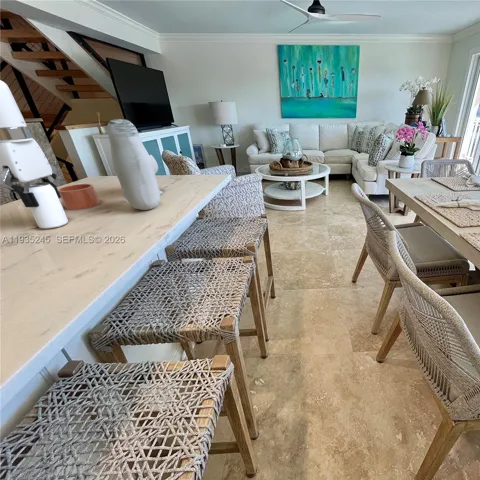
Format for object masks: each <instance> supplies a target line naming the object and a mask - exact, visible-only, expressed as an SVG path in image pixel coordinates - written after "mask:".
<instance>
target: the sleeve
mask: <svg viewBox="0 0 480 480" xmlns="http://www.w3.org/2000/svg"><path fill="white" fill-rule="evenodd" d="M57 189H58V191H59V193H60V196H61V198H60V199H61V200H62V203H63V205H64V207H65V209H66V210H72V211H73V210H84V209H87V208H93V207H95V206H97V205H99V204H100V203H101V201H100V199H99V196H98V194H97V191H96V189H95V187H94V184H91V183H77V184H72V185H66V186H62V187H60V188H57Z"/></svg>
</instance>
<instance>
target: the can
mask: <svg viewBox="0 0 480 480" xmlns="http://www.w3.org/2000/svg"><path fill="white" fill-rule="evenodd" d="M29 192H32V193H33V194H34V196H35V198H36V200H37V202H38V204H39V206H38V207H28V208H29V211H30V213H31V214H32V216H33V218H34V220H35V222H36V224H37V226H38V228H39V229H41V230H50V229H55V228H59V227H63V226H65V225H67V224H68V223H69V220H68V217H67V214H66V212H65V210H64V207H63V205H62V203H61V201H60V198H58V196H57V194H56V191H55V189H54V188H53V187H52V186H51V185H50V183H42V182H34V183H33V182H32V183H29Z"/></svg>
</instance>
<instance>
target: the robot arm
mask: <svg viewBox="0 0 480 480" xmlns="http://www.w3.org/2000/svg"><path fill="white" fill-rule="evenodd" d="M57 173H58V168H57V167H55V166H54V165H51V164H50V162H49V160H48V158H47V156H46V155H45V153H44V151H43V149H42V147H40V145H39V143H38V142H37V141H36V140H35V138H33V135H32V131H31V129H29V127H28V125H27V123H26V120H25V119H24V116H23V114H22V112H21V110H20V108H19V106H18V103H17V101H16V100H15V98H14V95H13V93H12V91H11V89H10V88H9V86H8V84H7V83H6V82H5V81H3V80H1V79H0V186H2V187H4V188H6V189H8V190H9V191H11V192H13V193H14V194H18V196H19V198H20V200H21V202H22V203H23V205H24V207H25V208H29V207H38V206H39V204H38V202H37V200H36V198H35V196H34V194H33V193H32V192H29V184H30V182H32V181H36V180H39V181H40V183H50V185H51V186H52V187H53V188H54V189H55V191H56V194H57V196H58V198H59V199H61V196H60V193H59V191H58V189H59V188H58V187H57V183H58V182H57Z"/></svg>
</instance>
